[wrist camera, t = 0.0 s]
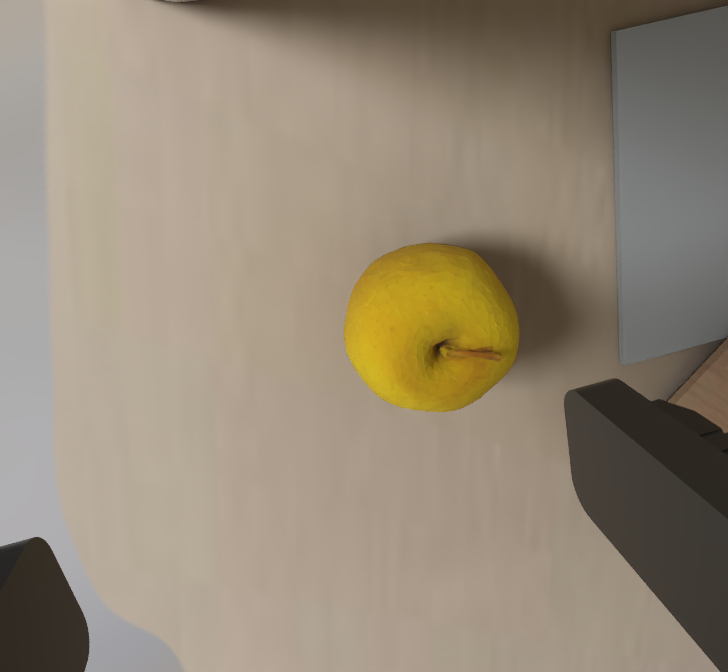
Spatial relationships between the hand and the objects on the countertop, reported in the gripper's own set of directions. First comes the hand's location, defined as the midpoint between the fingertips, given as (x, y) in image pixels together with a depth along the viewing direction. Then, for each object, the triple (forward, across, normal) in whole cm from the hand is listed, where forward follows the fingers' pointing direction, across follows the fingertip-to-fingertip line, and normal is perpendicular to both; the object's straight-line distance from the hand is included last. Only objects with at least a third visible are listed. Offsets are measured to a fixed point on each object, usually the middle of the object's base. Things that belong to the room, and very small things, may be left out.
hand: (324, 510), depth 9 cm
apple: (+18, -5, +2) cm, 18 cm away
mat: (+17, -23, +2) cm, 29 cm away
